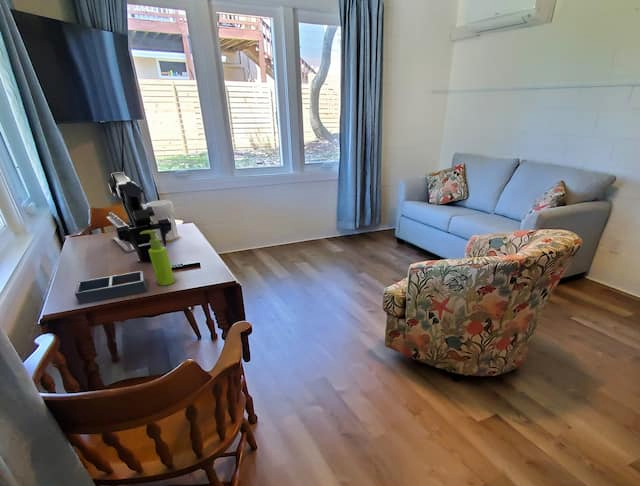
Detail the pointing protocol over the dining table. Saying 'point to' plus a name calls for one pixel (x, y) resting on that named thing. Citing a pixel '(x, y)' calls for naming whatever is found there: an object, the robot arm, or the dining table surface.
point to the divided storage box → (110, 287)
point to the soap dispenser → (159, 260)
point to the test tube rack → (116, 222)
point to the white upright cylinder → (164, 211)
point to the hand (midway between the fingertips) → (152, 248)
